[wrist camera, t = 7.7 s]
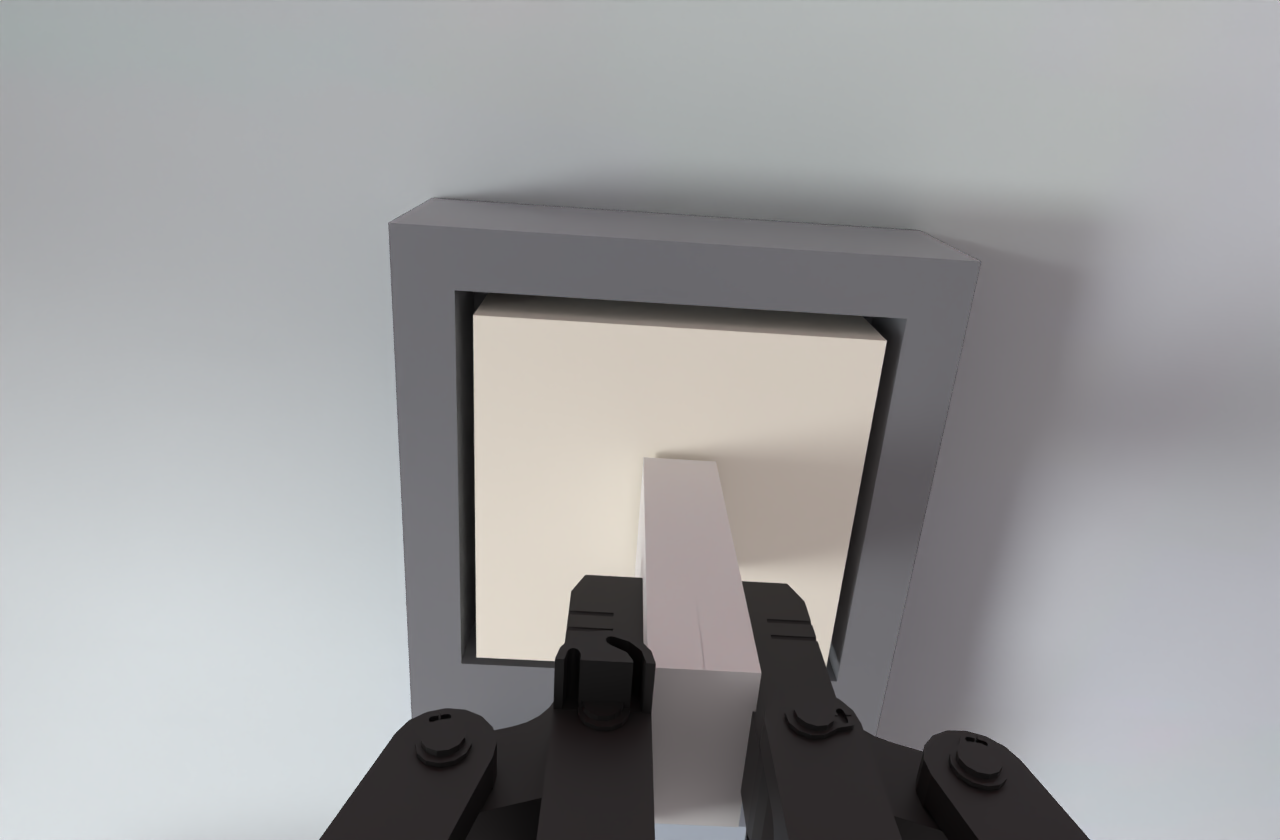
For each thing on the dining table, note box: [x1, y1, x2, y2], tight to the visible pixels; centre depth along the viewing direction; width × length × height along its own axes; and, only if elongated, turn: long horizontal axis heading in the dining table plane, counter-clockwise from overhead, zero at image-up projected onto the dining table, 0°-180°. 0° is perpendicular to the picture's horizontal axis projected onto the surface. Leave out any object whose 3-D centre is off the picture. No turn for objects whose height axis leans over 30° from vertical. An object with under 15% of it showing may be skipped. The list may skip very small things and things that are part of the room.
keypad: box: [388, 198, 981, 737], centre depth 23 cm, size 33×11×4 cm, turn 176°
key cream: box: [473, 293, 887, 666], centre depth 18 cm, size 8×8×2 cm
